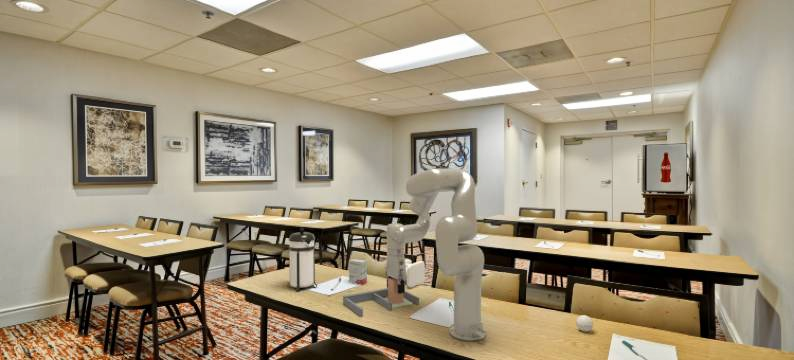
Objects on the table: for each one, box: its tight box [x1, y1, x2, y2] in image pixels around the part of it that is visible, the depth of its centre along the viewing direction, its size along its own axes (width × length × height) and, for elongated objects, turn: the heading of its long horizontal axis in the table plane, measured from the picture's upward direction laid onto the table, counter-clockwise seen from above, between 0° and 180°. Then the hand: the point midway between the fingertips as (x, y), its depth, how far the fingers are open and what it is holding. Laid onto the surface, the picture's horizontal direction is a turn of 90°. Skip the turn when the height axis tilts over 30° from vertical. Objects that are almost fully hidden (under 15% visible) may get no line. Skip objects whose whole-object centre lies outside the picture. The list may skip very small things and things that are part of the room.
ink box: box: [348, 258, 368, 286], centre depth 202 cm, size 9×5×12 cm, turn 58°
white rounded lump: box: [575, 314, 594, 332], centre depth 139 cm, size 8×6×6 cm
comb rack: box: [342, 287, 420, 318], centre depth 169 cm, size 18×28×4 cm, turn 120°
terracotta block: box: [387, 278, 403, 304], centre depth 171 cm, size 5×5×10 cm
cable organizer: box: [405, 259, 426, 289], centre depth 198 cm, size 15×11×12 cm
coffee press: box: [287, 227, 318, 293], centre depth 194 cm, size 17×16×30 cm
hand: (395, 290), depth 171 cm, fingers open, 9 cm apart
